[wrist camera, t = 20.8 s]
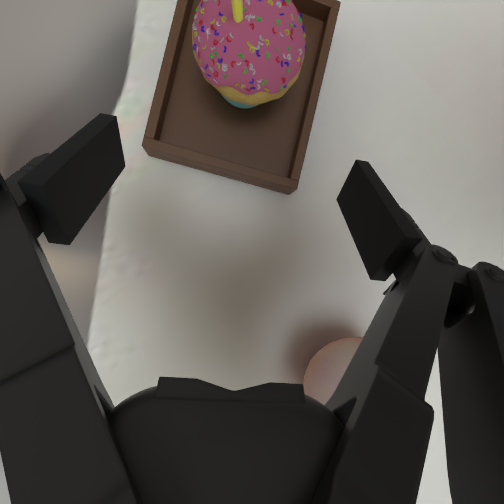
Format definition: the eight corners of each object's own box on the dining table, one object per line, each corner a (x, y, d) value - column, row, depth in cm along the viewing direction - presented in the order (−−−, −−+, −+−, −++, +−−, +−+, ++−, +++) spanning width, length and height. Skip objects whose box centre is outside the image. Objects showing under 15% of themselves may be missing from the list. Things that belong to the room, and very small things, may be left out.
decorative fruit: (299, 313, 25) (353, 353, 16) (373, 328, 27) (467, 376, 17) (278, 406, 25) (318, 507, 15) (353, 418, 26) (436, 519, 16)
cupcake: (215, 139, 23) (214, 25, 11) (182, 47, 23) (144, -173, 11) (300, 113, 24) (381, -17, 12) (270, 24, 24) (325, -198, 12)
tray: (194, -29, 24) (191, -59, 21) (329, 23, 26) (341, 1, 23) (148, 155, 23) (141, 145, 21) (289, 194, 25) (297, 189, 23)
